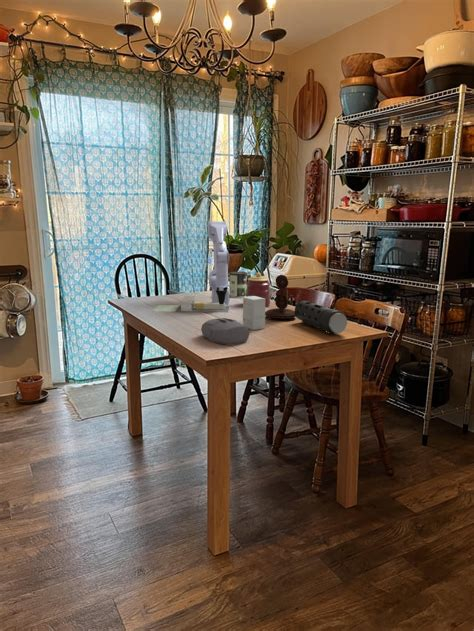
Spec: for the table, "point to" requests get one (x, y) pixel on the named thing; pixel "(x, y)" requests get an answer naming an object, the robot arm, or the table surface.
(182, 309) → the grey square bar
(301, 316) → the muzzle brake
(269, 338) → the table surface
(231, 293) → the coffee can
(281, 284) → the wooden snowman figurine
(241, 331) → the soft grey pack
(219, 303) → the robot arm
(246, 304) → the small box
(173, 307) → the mat
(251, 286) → the canister
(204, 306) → the plug
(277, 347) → the table surface
